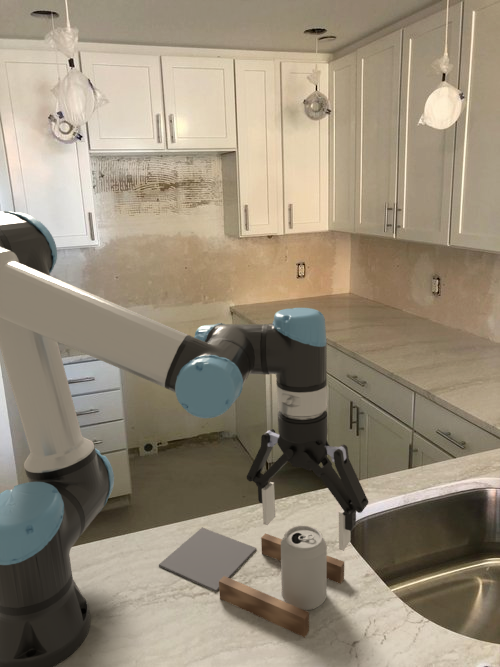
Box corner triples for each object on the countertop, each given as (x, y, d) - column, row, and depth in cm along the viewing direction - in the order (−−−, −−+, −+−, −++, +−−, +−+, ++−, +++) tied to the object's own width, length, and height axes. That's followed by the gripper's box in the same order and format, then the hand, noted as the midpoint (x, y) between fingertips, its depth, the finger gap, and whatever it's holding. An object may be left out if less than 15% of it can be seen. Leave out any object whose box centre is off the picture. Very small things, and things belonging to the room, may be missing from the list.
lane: (219, 598, 92) (218, 581, 91) (265, 549, 104) (265, 533, 103) (304, 637, 83) (304, 618, 82) (344, 578, 95) (344, 561, 94)
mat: (159, 566, 100) (158, 564, 100) (202, 529, 111) (202, 527, 110) (216, 591, 93) (216, 590, 93) (256, 549, 104) (256, 547, 104)
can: (285, 579, 96) (283, 519, 93) (328, 584, 94) (328, 523, 91) (278, 611, 89) (276, 547, 85) (324, 617, 87) (324, 552, 84)
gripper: (221, 405, 86) (229, 522, 92) (372, 436, 73) (371, 571, 78) (246, 389, 92) (253, 500, 98) (390, 416, 79) (388, 542, 84)
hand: (305, 532), depth 88 cm, fingers open, 13 cm apart
